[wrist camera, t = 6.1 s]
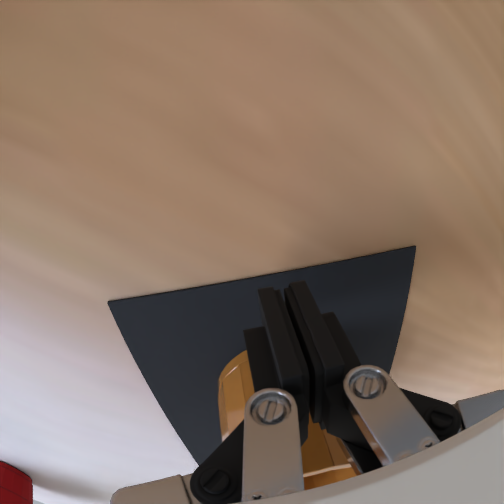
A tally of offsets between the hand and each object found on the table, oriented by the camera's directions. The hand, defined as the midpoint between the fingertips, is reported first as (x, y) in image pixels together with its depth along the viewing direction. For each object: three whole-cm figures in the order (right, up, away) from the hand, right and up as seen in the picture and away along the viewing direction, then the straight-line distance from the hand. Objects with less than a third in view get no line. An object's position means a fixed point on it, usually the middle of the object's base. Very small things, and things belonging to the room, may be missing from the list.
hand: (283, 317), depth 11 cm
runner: (+2, -13, +10) cm, 17 cm away
